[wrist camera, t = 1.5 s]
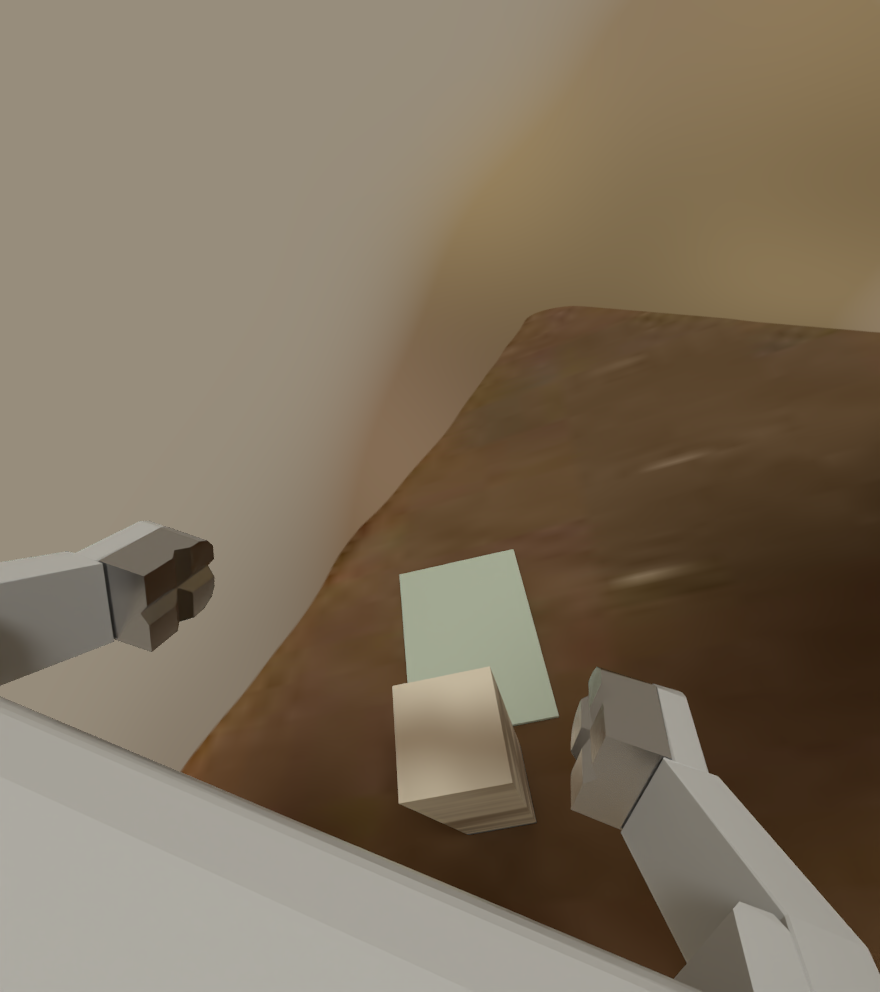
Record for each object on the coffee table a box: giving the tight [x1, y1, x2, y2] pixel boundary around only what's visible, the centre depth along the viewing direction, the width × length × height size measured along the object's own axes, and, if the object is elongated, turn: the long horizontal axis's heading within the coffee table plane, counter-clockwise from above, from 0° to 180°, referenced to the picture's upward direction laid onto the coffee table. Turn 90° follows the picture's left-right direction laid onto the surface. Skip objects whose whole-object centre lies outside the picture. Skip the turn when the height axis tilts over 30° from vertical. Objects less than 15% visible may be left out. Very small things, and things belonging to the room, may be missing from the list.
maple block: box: [392, 666, 537, 835], centre depth 28 cm, size 5×5×18 cm
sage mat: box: [399, 549, 559, 726], centre depth 43 cm, size 16×12×1 cm
